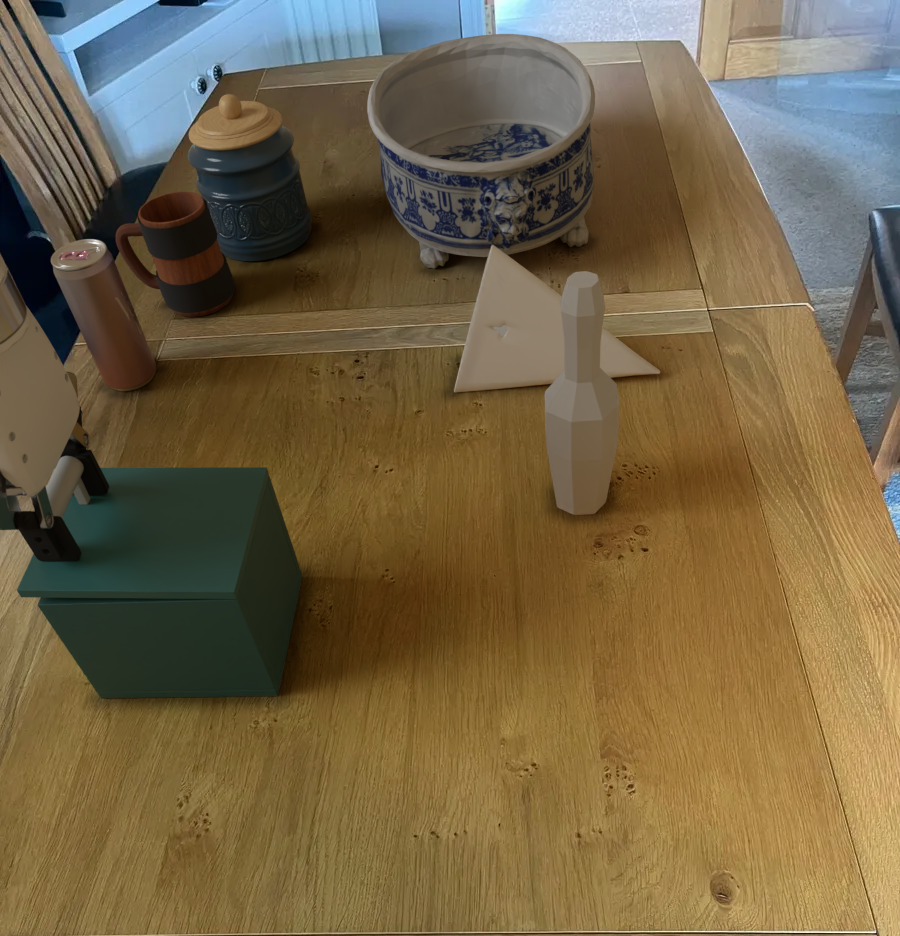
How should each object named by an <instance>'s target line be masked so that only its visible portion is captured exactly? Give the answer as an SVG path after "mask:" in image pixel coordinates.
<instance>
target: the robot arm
mask: <svg viewBox="0 0 900 936" xmlns="http://www.w3.org/2000/svg"><path fill="white" fill-rule="evenodd" d="M78 391H79V390H78V378H77V375H76V374H75V373H74V372H71V371H67V370H66V368H65V366H64V364H63V362H62V360H61V358H60V357H59V354H58V353H57V351H56V350H55V348H54V346H53V344H52V343H51V341H50V339H49V337H48V336H47V334H46V333H45V331H44V329H43V327H41V325H40V323H39V322H38V319H36V317H35V316H34V314H33V313H32V312H31V310H30V309H29V307H28V306H27V305H26V302H25V299H24V297H23V296H22V294H21V292H20V290H19V288H18V285H17V284H16V282H15V280H14V278H13V275H12V273H11V272H10V269H9V267H8V265H7V264H6V263H5V260H4V258H3V256H2V253H0V531H17V530H18V531H19V533H20V534H21V536H22V537H23V539H24V540H25V542H26V544H27V545H28V547H29V549H30V550H31V552H32V554H34V555H35V556H36V558H37V559H38V560H40V561H42V562H56V561H78V560H79V559H80V557H81V555H82V553H81V550H80V548H79V547H78V545H77V543H76V541H75V540H74V538H73V536H72V534H71V533H70V531H69V529H68V527H67V526H66V524H65V522H64V520H63V519H62V518H61V517H60V516H53V512H52V509H51V505H50V502H49V498H48V494H47V491H46V486H47V484H48V482H49V480H50V478H51V476H52V474H53V472H54V470H55V468H56V465H57V463H58V461H59V459H60V458H61V457H64V456H72V457H74V458H77V459H78V460H79V461H81V463H82V464H83V466H84V470H83V473H82V475H81V480H82V482H83V484H84V486H85V488H86V490H87V492H88V494H89V495H103V494H106V493H107V492H108V490H109V484H108V482H107V480H106V478H105V476H104V474H103V472H102V470H101V468H102V467H100V465H99V464H100V463H99V462H98V460H97V458H96V456H95V454H94V452H93V451H92V449H89V448H90V446H91V436H90V434H89V432H88V431H87V430H86V429H85V428H83V410H82V406H81V405H80V401H79V392H78ZM73 495H75V494H74V493H73ZM18 496H19V497H21V496H27V497H30V499H31V503H32V506H33V509H34V510H22V508H21V505H20V503H19V499H18Z"/></svg>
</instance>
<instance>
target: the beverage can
mask: <svg viewBox="0 0 900 936" xmlns="http://www.w3.org/2000/svg"><path fill="white" fill-rule="evenodd" d="M50 263H51V265H52V271H53V275H54V277H55V279H56V281H57V283H58V285H59V287H60V290H61V292H62V294H63V297H64V299H65V300H66V303H67V305H68V307H69V310H70V311H71V314H72V315H73V318H74V320H75V322H76V324H77V327H78V329H79V331H80V333H81V335H82V337H83V339H84V342H85V344H86V346H87V348H88V351H89V352H90V354H91V356H92V358H93V361H94V363H95V366H96V367H97V370H98V372H99V374H100V376H101V378H102V381H103V383H104V384H105V385H106V386H107V387H109V388H110V389H112V390H114V391H117V392H118V391H119V392H130V391H134V390H138V389H141V388H143V387H145V386H146V385H147V384H149V383H150V382H151V381H152V380H153V379H154V377H155V375H156V372H157V371H156V370H157V363H156V360H155V358H154V356H153V353H152V350H151V347H150V346H149V343H148V341H147V338H146V336H145V333H144V330H143V329H142V326H141V323H140V321H139V319H138V316H137V314H136V311H135V308H134V306H133V303H132V301H131V298H130V296H129V294H128V291H127V288H126V287H125V284H124V281H123V279H122V277H121V274H120V272H119V268H118V266H117V264H116V261H115V259H114V256H113V253H112V252H111V251H110V250H109V249H108V247H107V245H106V243H105V242H104V241H102V240H100V239H95V238H84V239H78V240H74V241H71V242H68V243H66V244H64V245H62V246H61V247H59V248H58V249H57V250H55V251H54V252H53V253H52V255H51V256H50Z"/></svg>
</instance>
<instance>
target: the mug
mask: <svg viewBox="0 0 900 936" xmlns="http://www.w3.org/2000/svg"><path fill="white" fill-rule="evenodd" d="M137 213H138V214H137V222H136V223H132V222H131V223H130V222H129V223H124V224H122V225H120V226H119V227H118V228H117V230H116V232H115V244H116V246H117V249H118V251H119V254H120V255H121V257H122V259H123V261H124V262H125V263H126V265H127V267H128V268H129V269H130V270H131V272H132V273H133V274H134V275H135V276H136V278H137V279H138V280H140V281H141V282H142V283H143V284H144V285H146V286H147V287H149V288H152V289H154V290H159V291H160V293H161V296H162V298H163V301H164V303H165V305H166V306H167V308H169V310H172V312H174V313H175V314H176V315H178V316H183V317H188V318H196V317H205V316H208V315H211V314H213V313H216V312H218V311H220V310H222V309H223V308H224V307H226V306H227V305H228V304H229V303H230V302H231V301H232V299H233V296H234V292H235V289H236V284H235V280H234V277H233V274H232V271H231V269H230V266H229V263H228V260H227V257H226V256H225V255H224V254H223V253H222V252H221V250H220V247H219V244H218V241H217V231H216V229H215V226H214V223H213V220H212V217H211V214H210V211H209V208H208V205H207V202H206V201H205V199H203V198H202V196H201V194H199V193H196V192H192V191H175V192H168V193H164V194H161V195H158V196H155V197H153V198H151V199H150V200H148V201H146V202H144V203H143V204H142V205H141V206H140V208H139V210H138V212H137ZM129 237H143V240H144V242H145V243H144V244H145V246H146V247H147V250H148V253H149V254H150V255H151V258H152V261H153V263H154V266H155V269H156V270H155V274H154V273H152V272H151V271H150V270H149V269H147V267H146V265H144V264H143V262H142V261H141V260H140V259H139V257H138V255H137V254H136V252H135V251H134V248H133V247H132V245H131V243H130V240H129Z"/></svg>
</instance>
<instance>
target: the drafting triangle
mask: <svg viewBox="0 0 900 936" xmlns="http://www.w3.org/2000/svg"><path fill="white" fill-rule="evenodd" d="M482 273H483V274H482V277H481V281H480V285H479V289H478V293H477V296H476V300H475V304H474V309H473V312H472V316H471V320H470V324H469V328H468V331H467V335H466V339H465V342H464V347H463V351H462V355H461V359H460V363H459V367H458V372H457V374H456V375H457V376H456V380H455V385H454V388H453V392H454V393H466V392H478V391H489V390H499V389H501V390H502V389H510V388H521V387H523V388H524V387H532V386H533V387H534V386H542V385H551V384H552V383H553V382H554V381H555V380H556V379H557V378H558V377H559V375H560V374H561V373H562V372H563V371H564V331H563V323H562V314H561V304H560V301H561V298H562V294H560V293H558V292H557V291H556V290H554V289H553V288H552V287H550V286H549V285H548V284H547V283H545V282H544V281H543V280H542V279H540V278H539V277H537V276H536V275H535V274H533V273H532V272H530V270H528V269H526V268H525V267H524V266H523V265H522V264H520V263H518V262H517V261H516V260H515V259H513V258H512V257H510V256H509V255H506V254H505V253H504V252H502V251H501V250H500V249H498V248H497V247H495V246H494V245H492V246H491V249H490V252H489V255H488V257H486V261H485V265H484V270H483V272H482ZM600 368H601V369H602V370H603V371H604V372H605V373H606V374H607V375H608V376H609V377H610V378H611V379H613V378H621V377H630V376H632V377H633V376H644V375H660V374H661V370H660V369H659V368H657V367H656V366H654V365H653V364H652V363H650V362H649V361H647V360H646V359H645V358H643V357H642V356H641V355H639V354H638V353H636V352H635V351H634V350H633V349H632V348H630V347H629V346H628V345H626V344H625V343H624V342H622V341H621V340H620V339H618V338H617V337H616V336H615V335H614V334H612V333H611V332H610V331H608V330H607V329H606V328H604V326H603V327H602V334H601V344H600Z"/></svg>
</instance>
